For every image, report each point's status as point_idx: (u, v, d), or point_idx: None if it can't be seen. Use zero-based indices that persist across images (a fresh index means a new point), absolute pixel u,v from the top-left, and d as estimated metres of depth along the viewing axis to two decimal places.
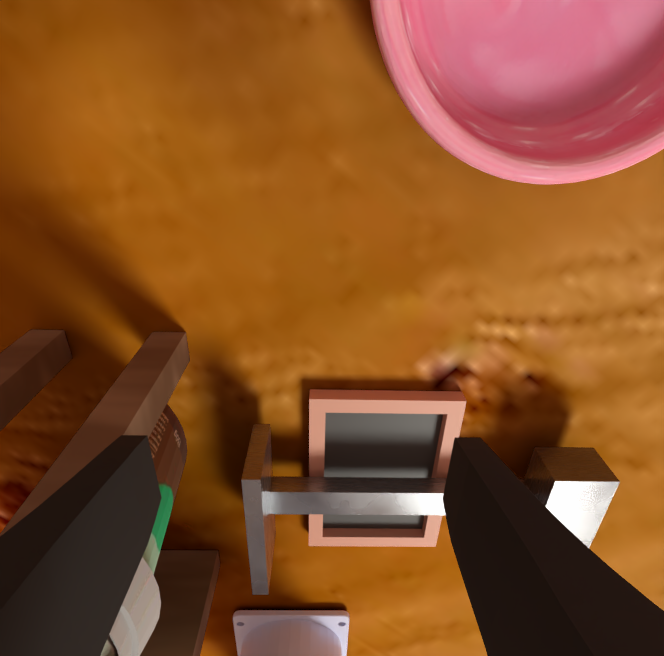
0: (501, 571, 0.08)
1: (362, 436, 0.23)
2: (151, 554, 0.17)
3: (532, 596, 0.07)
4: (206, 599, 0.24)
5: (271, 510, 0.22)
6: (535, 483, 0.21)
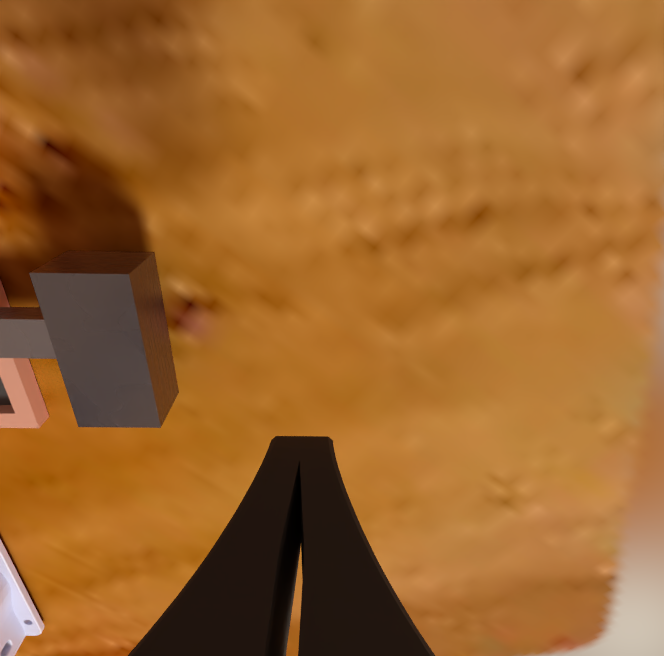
0: None
1: None
2: None
3: None
4: None
5: None
6: None
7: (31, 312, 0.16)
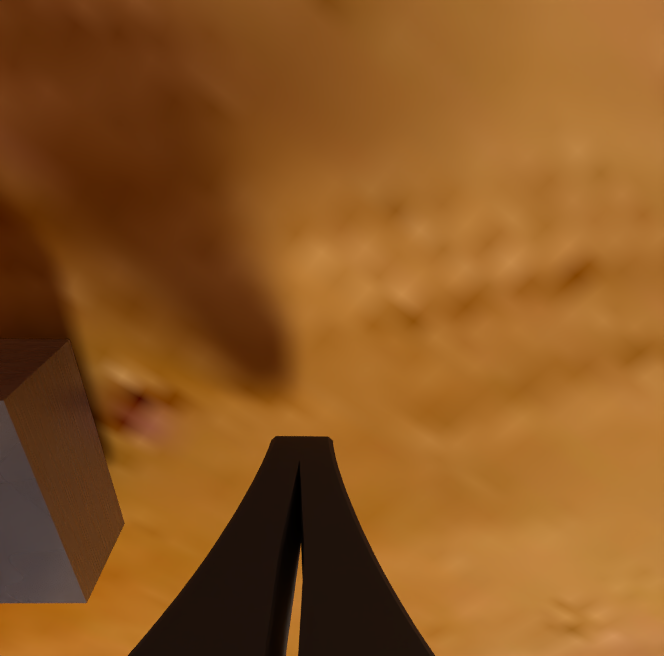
0: None
1: None
2: None
3: None
4: None
5: None
6: None
7: None
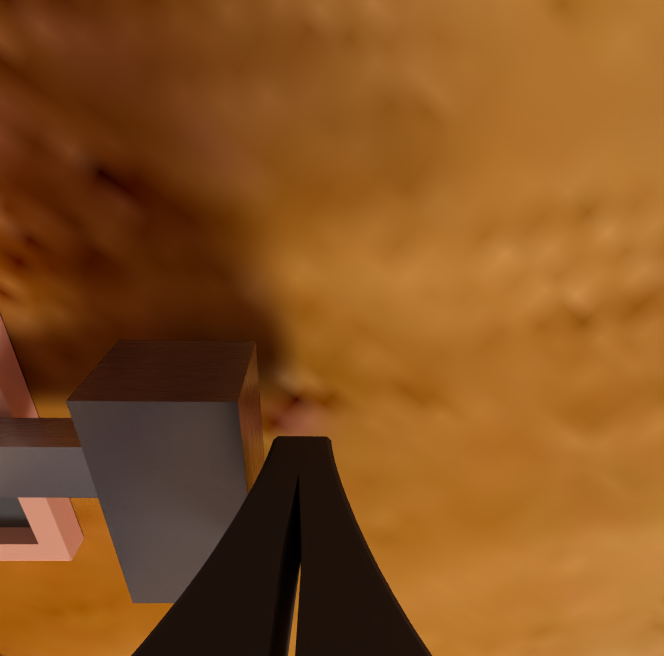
0: None
1: None
2: None
3: None
4: None
5: None
6: None
7: (60, 430, 0.10)
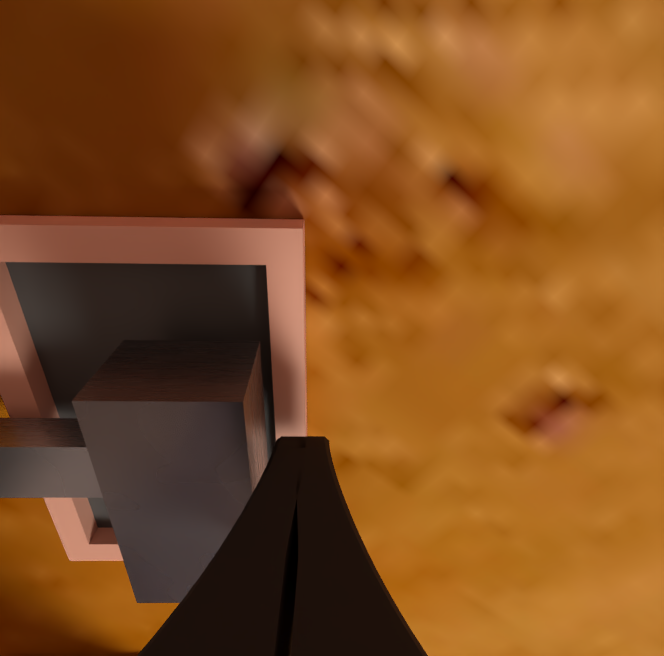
0: None
1: (110, 333, 0.11)
2: None
3: None
4: None
5: None
6: None
7: (64, 430, 0.10)
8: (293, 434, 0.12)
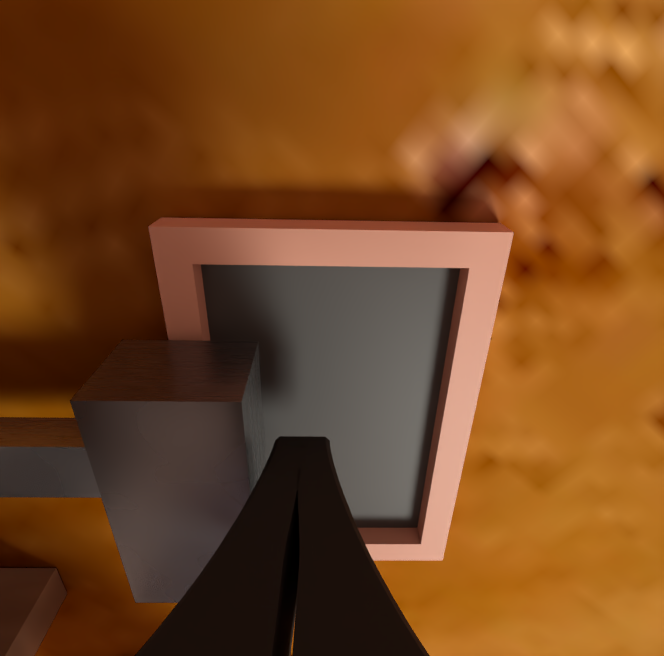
0: None
1: (288, 335, 0.11)
2: None
3: None
4: None
5: None
6: None
7: (63, 430, 0.10)
8: (457, 435, 0.12)
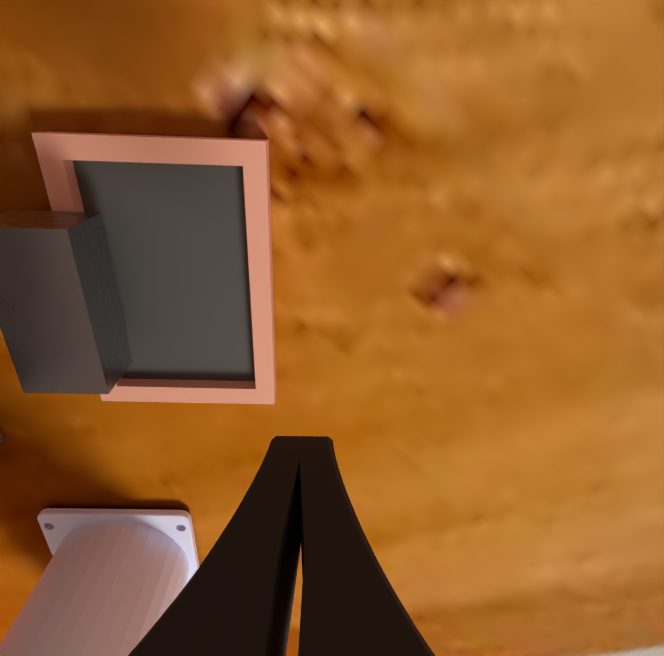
0: None
1: (139, 218, 0.16)
2: None
3: None
4: None
5: None
6: None
7: None
8: (262, 295, 0.17)
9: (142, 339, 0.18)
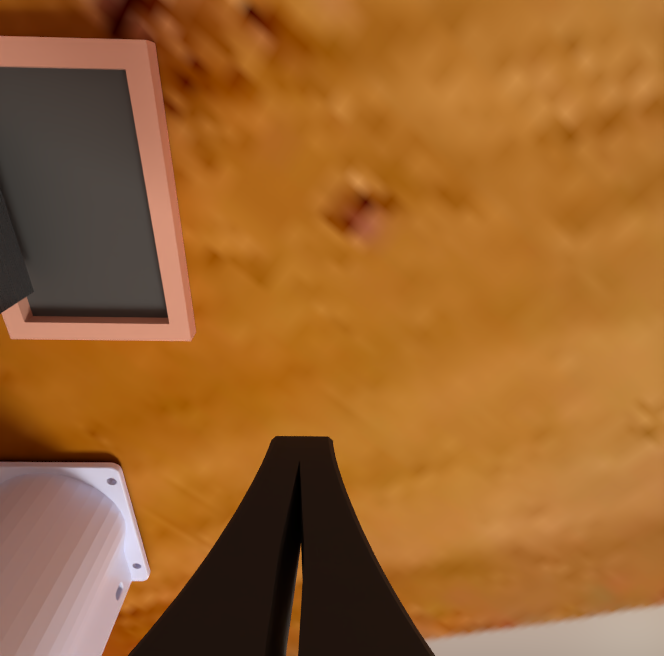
0: None
1: (28, 134, 0.15)
2: None
3: None
4: None
5: None
6: None
7: None
8: (164, 217, 0.16)
9: (48, 271, 0.18)
